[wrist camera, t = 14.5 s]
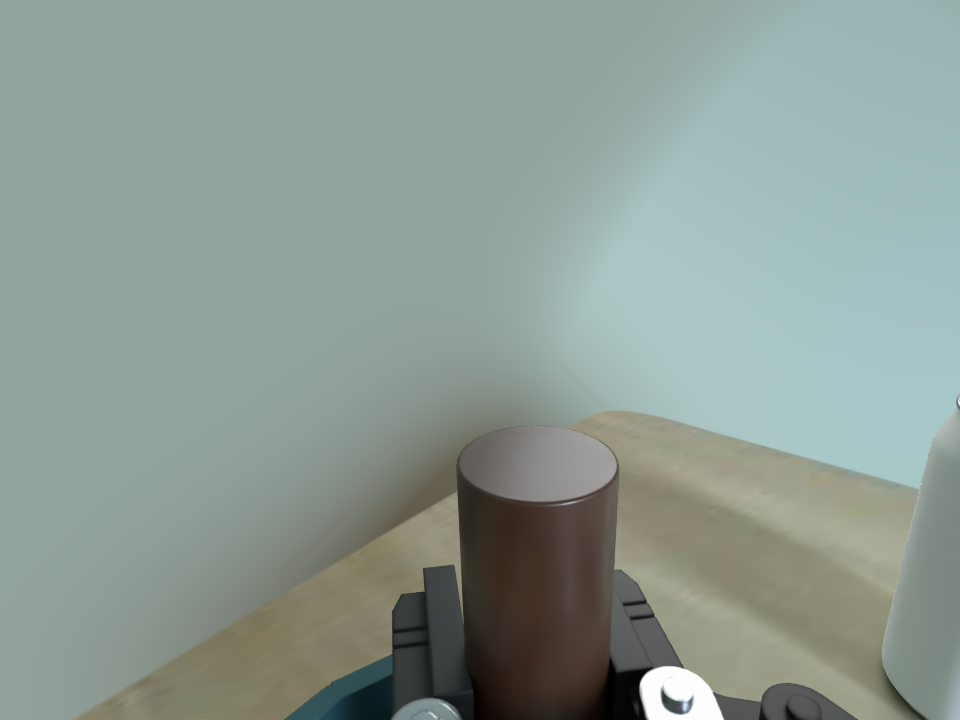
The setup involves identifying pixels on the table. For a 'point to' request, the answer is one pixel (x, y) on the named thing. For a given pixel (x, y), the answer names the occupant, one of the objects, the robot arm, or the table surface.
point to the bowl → (354, 696)
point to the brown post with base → (538, 571)
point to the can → (930, 589)
